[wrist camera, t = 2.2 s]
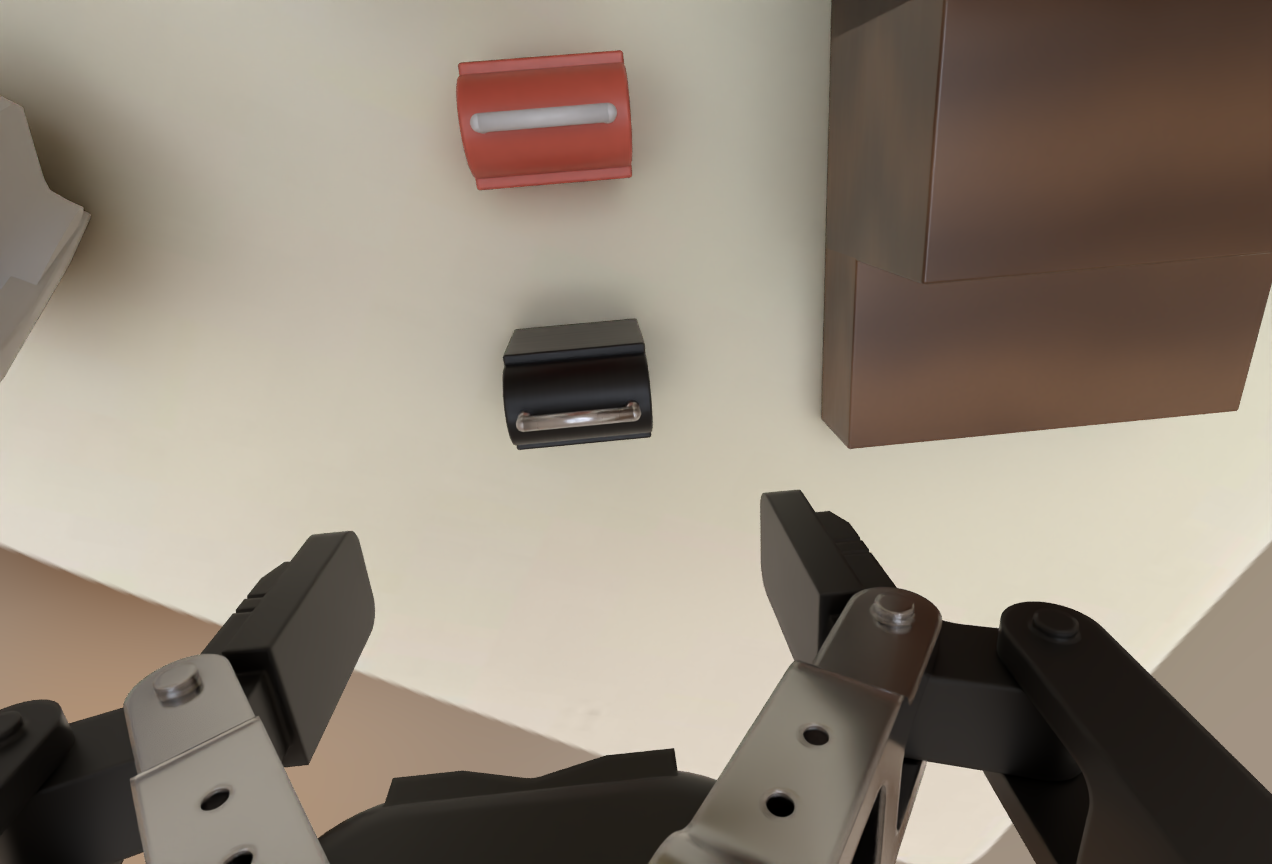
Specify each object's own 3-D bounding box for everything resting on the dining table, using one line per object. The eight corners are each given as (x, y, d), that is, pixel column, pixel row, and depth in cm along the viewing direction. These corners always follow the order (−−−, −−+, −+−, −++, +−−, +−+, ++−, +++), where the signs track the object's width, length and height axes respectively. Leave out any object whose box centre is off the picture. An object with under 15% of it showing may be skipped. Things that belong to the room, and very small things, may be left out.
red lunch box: (477, 78, 21) (440, 50, 16) (617, 67, 22) (627, 35, 16) (493, 186, 23) (464, 193, 17) (625, 175, 23) (637, 179, 17)
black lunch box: (514, 329, 24) (493, 375, 19) (636, 317, 24) (650, 361, 19) (526, 413, 25) (510, 478, 20) (643, 402, 26) (658, 464, 20)
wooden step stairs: (836, -214, 19) (1178, -730, 8) (1312, -245, 20) (2250, -773, 9) (820, 419, 26) (991, 606, 15) (1171, 385, 27) (1585, 543, 16)
